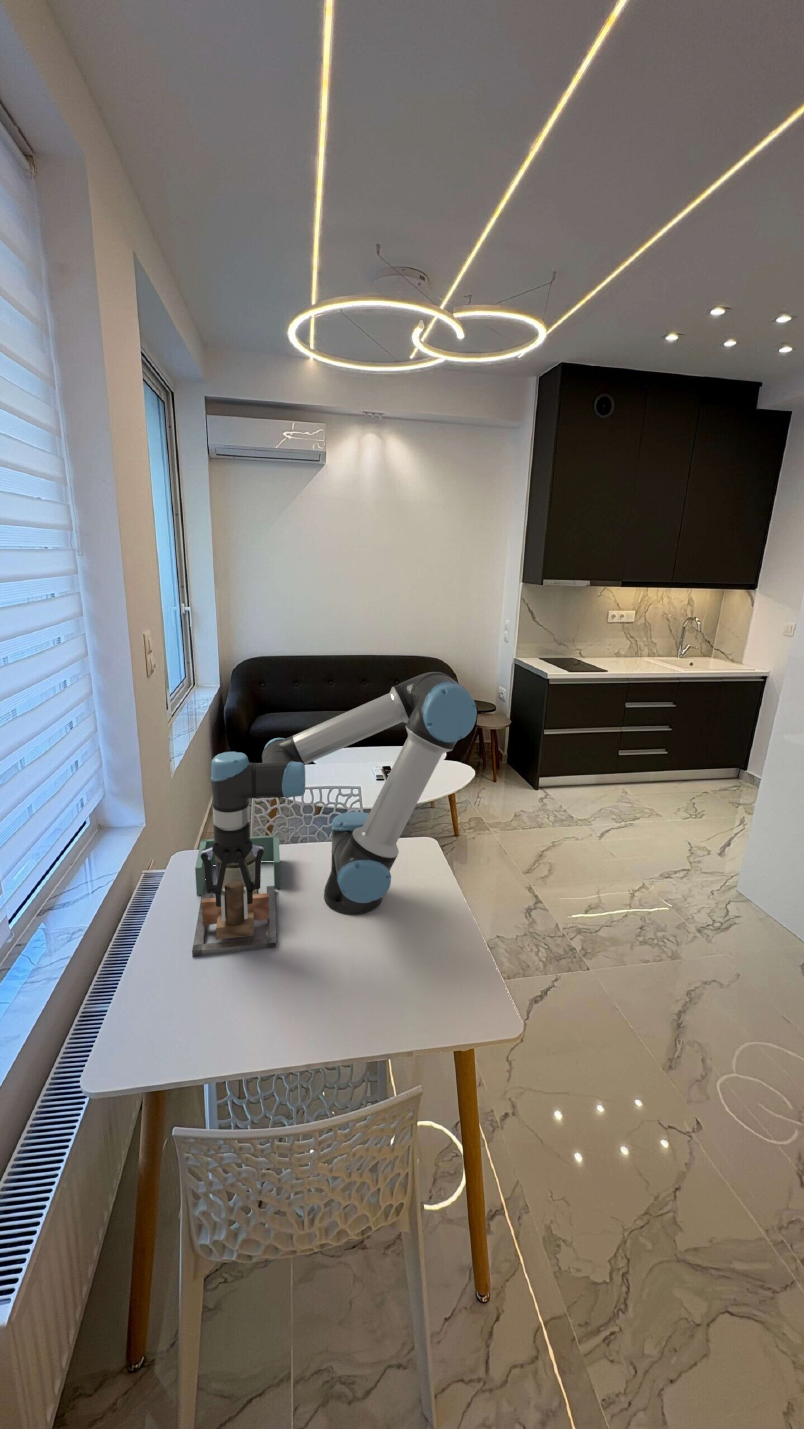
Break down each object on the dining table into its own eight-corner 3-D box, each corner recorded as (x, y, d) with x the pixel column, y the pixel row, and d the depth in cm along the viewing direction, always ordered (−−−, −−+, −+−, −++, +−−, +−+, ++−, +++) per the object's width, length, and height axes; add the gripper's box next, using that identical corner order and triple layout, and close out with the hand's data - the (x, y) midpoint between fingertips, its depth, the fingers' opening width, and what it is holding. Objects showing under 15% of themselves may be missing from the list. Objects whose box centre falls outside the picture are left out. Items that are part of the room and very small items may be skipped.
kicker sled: (269, 914, 141) (268, 870, 137) (269, 934, 134) (268, 888, 131) (203, 920, 137) (201, 875, 134) (200, 940, 130) (197, 893, 127)
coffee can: (208, 904, 147) (205, 854, 143) (241, 886, 155) (239, 838, 151) (235, 920, 141) (233, 868, 137) (267, 901, 149) (267, 851, 145)
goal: (278, 860, 169) (278, 835, 166) (280, 888, 155) (279, 861, 153) (202, 865, 164) (200, 839, 162) (196, 895, 150) (195, 867, 148)
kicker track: (274, 890, 154) (274, 885, 154) (276, 948, 132) (276, 942, 132) (202, 896, 150) (202, 891, 149) (192, 956, 128) (192, 950, 128)
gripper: (272, 813, 132) (273, 903, 138) (191, 817, 128) (197, 910, 134) (272, 828, 125) (274, 922, 131) (187, 833, 121) (193, 930, 127)
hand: (235, 916), depth 133 cm, fingers open, 4 cm apart
